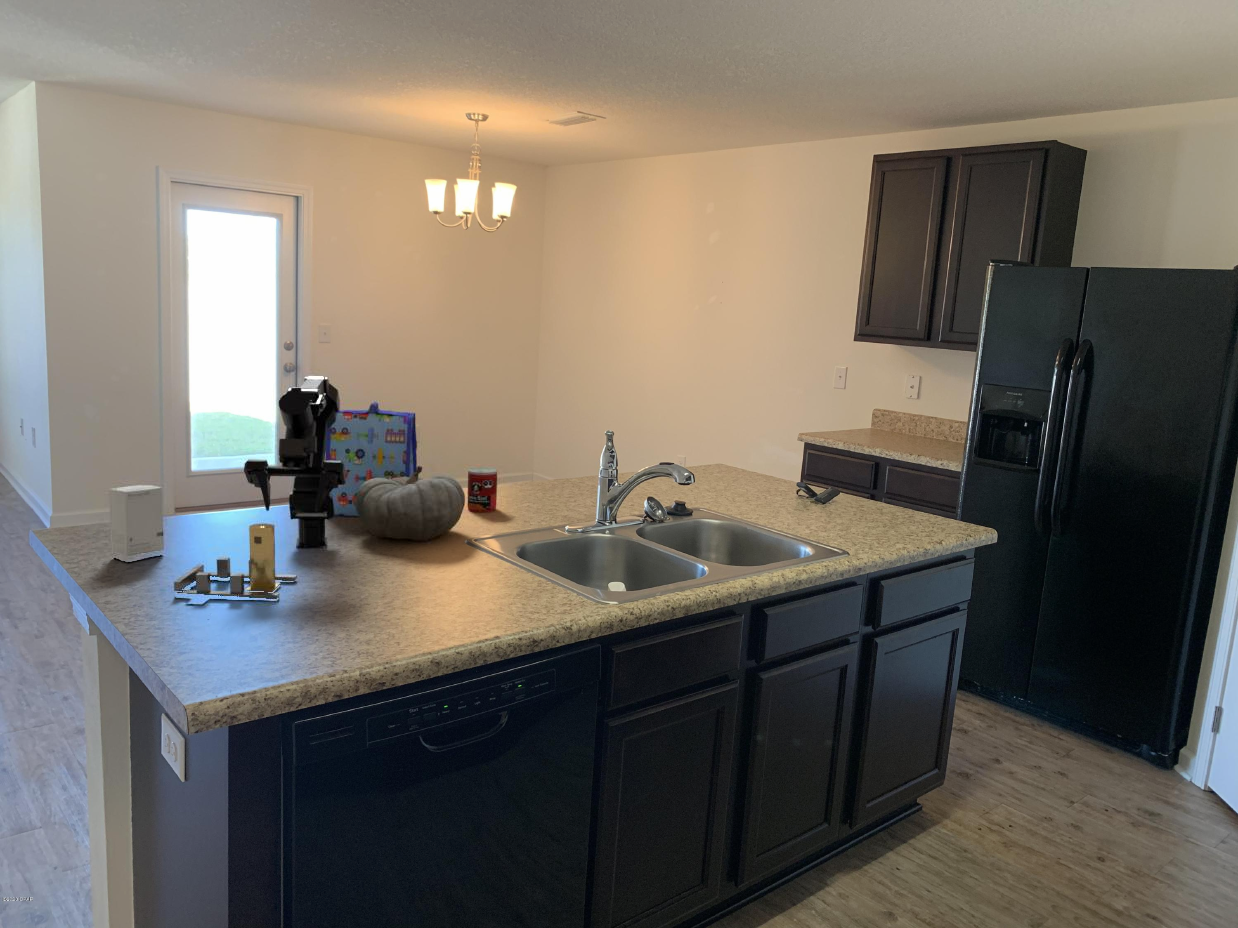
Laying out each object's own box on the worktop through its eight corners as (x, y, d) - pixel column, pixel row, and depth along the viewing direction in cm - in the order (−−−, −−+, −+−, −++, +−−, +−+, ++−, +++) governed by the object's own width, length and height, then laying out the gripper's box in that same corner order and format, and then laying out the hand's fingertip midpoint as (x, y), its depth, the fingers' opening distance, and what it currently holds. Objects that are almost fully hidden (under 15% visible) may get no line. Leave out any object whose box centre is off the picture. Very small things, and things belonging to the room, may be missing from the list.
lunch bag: (417, 507, 241) (419, 401, 236) (407, 519, 228) (408, 407, 222) (336, 504, 240) (336, 397, 235) (321, 516, 227) (320, 403, 222)
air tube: (254, 585, 171) (252, 522, 169) (280, 586, 172) (279, 523, 169) (245, 594, 166) (243, 529, 164) (272, 594, 167) (271, 530, 165)
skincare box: (127, 564, 180) (124, 492, 178) (110, 558, 183) (106, 488, 181) (166, 555, 188) (163, 486, 185) (148, 550, 191) (145, 482, 188)
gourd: (457, 541, 199) (447, 464, 198) (347, 554, 200) (336, 478, 199) (476, 526, 224) (467, 457, 223) (378, 537, 225) (368, 469, 223)
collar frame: (200, 577, 174) (199, 555, 173) (297, 580, 175) (296, 558, 175) (165, 604, 159) (164, 580, 158) (271, 607, 160) (270, 583, 159)
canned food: (462, 510, 240) (463, 470, 238) (475, 505, 247) (476, 466, 245) (488, 514, 238) (489, 473, 236) (500, 508, 245) (501, 468, 243)
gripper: (243, 419, 174) (233, 490, 166) (343, 421, 177) (337, 491, 170) (253, 448, 183) (244, 516, 176) (348, 450, 187) (342, 517, 179)
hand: (292, 510), depth 175 cm, fingers open, 9 cm apart
